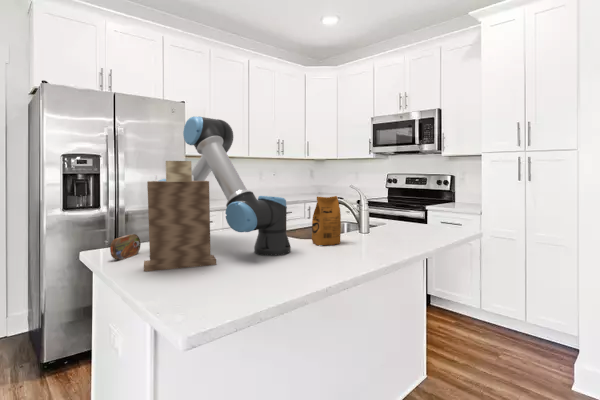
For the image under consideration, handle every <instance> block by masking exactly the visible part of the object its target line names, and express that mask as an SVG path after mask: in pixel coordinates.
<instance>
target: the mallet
mask: <svg viewBox="0 0 600 400" xmlns="http://www.w3.org/2000/svg"><path fill="white" fill-rule="evenodd" d="M192 170H193V168H192V160H165V179H166V182H192Z"/></svg>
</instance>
